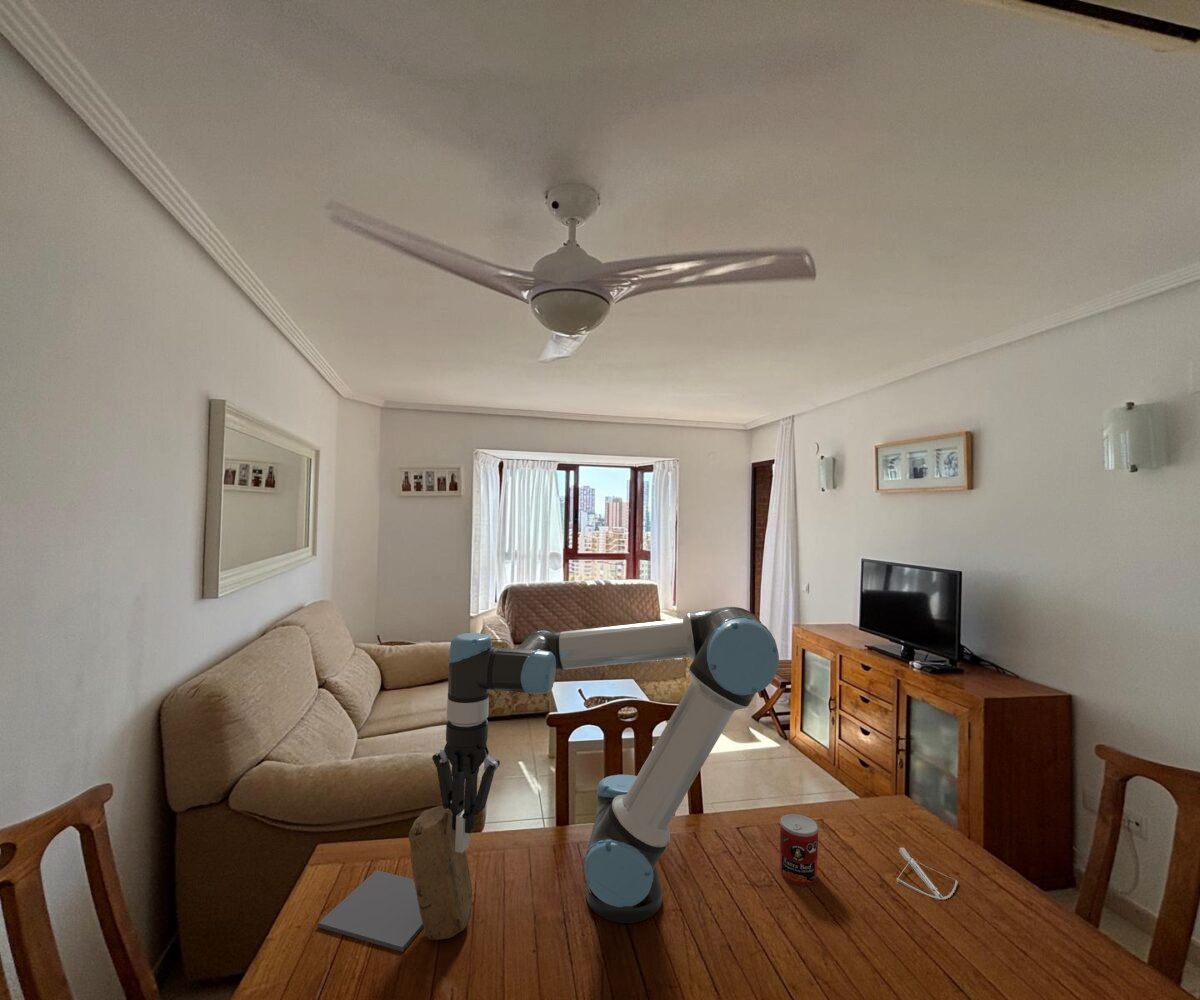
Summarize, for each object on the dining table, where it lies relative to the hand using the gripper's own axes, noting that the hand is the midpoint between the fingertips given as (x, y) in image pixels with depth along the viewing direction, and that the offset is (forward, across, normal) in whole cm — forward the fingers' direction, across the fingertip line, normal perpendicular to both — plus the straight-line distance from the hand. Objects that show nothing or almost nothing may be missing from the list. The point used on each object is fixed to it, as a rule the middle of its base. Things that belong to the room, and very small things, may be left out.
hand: (462, 848), depth 104 cm
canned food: (+14, -61, -37) cm, 72 cm away
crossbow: (+15, -86, -46) cm, 99 cm away
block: (+14, +1, 0) cm, 14 cm away
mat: (+15, +15, 0) cm, 21 cm away
